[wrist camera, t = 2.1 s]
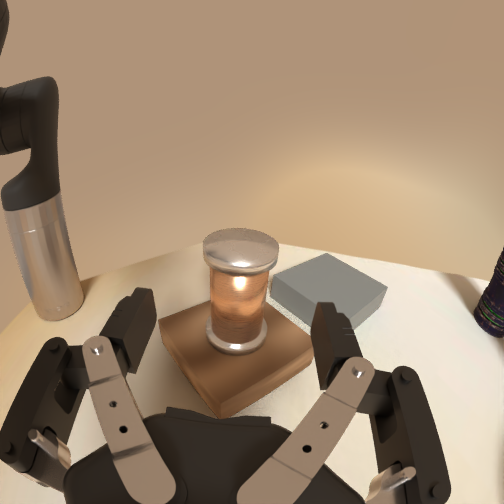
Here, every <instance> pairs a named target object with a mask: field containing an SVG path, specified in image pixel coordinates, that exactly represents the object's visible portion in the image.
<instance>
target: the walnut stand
mask: <svg viewBox="0 0 504 504" xmlns="http://www.w3.org/2000/svg"><path fill="white" fill-rule="evenodd" d="M210 315H211V300H210V301H207V302H204V303H202V304H199V305H197V306H194V307H191V308H189V309H186V310H183V311H181V312H178V313H175V314H173V315H170V316H167V317H165V318H162V319H159V320H158V322H159V327H160V332H161V337H162V341H163V344H164V345H165V347H166V348H167V350H168V351H169V353H170V354H171V356H172V357H173V359H174V360H175V362H176V363H177V365H178V366H179V368H180V369H181V370H182V372H183V373H184V375H185V376H186V377H187V379H188V380H189V381H190V383H191V384H192V386H193V387H194V388H195V390H196V391H197V392H198V393H199V395H200V396H201V397H202V399H203V400H204V401H205V402H206V404H207V405H208V406H209V408H210V409H211V410H212V411H213V412H214V414H215V415H216V416H217V417H218V419H226V418H229V417H231V416H232V415H234V414H236V413H237V412H239V411H241V410H243V409H244V408H246V407H248V406H249V405H251V404H252V403H254V402H256V401H257V400H259V399H260V398H262V397H264V396H265V395H267V394H268V393H270V392H271V391H273V390H274V389H276V388H277V387H279V386H280V385H282V384H283V383H285V382H286V381H288V380H289V379H291V378H292V377H294V376H295V375H296V374H298V373H299V372H301V371H302V370H303V369H305V368H306V367H307V366H309V365H310V364H311V362H312V359H313V357H314V352H313V346H312V341H311V336H310V335H308V334H307V333H306V332H304V331H303V330H302V329H301V328H299V327H298V326H297V325H295V324H294V323H293V322H291V321H290V320H289V319H288V318H286V317H285V316H284V315H282V314H281V313H280V312H279V311H277V310H276V309H275V308H274V307H272V306H271V305H270V304H268V303H267V302H266V301H265V308H264V315H263V318H264V319H265V321H266V324H267V334H266V340H265V342H264V344H263V346H262V347H261V348H260V349H259V350H257V351H256V352H254V353H252V354H249V355H244V356H230V355H226V354H223V353H221V352H219V351H217V350H215V349H214V348H213V347H212V346H211V345H210V344H209V342H208V340H207V338H206V321H207V319H208V317H209V316H210Z"/></svg>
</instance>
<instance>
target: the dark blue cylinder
mask: <svg viewBox="0 0 504 504" xmlns="http://www.w3.org/2000/svg"><path fill="white" fill-rule="evenodd" d="M474 317H475V320H476V322H477V323H478V324H479V326H480V327H481V328H482V329H483V330H484V331H485V332H487V333H488V334H490V335H492V336H494V337H498V338H501V337H504V248H503V251H502V253H501V255H500V257H499V259H498V261H497V265H496V266H495V269H494V274H493V277H492V279H491V281H490V283H489V285H488V287H486V289H485V290H484V292H483V294H482V296H481V298H480V300H479V303H478V305H477V307H476V308H475V310H474Z"/></svg>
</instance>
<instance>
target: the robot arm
mask: <svg viewBox="0 0 504 504" xmlns="http://www.w3.org/2000/svg"><path fill="white" fill-rule="evenodd" d="M8 25H9V10H8V6H7V2H6V0H0V55H1V51H2V48H3V45H4V42H5V38H6V35H7V31H8ZM58 109H59V94H58V87H57V84H56V81H55V80H54V79H53V78H52V77H41V78H37V79H33V80H30V81H26V82H23V83H19V84H16V85H13V86H10V87H7V88H2V87H0V155H5V154H10V153H14V152H18V151H21V150H25V149H28V148H31V157H30V161H29V163H28V164H27V166H26V167H25V168H24V169H23V170H22V171H21V172H20V173H19V174H18V175H17V176H16V177H14V178H13V179H11V180H10V181H9V182H7V183H6V184H5V185H4V187H3V188H2V190H1V199H2V205H3V209H4V214H5V219H6V223H7V227H8V231H9V235H10V239H11V242H12V246H13V249H14V253H15V256H16V259H17V262H18V265H19V268H20V271H21V274H22V277H23V279H24V282H25V285H26V288H27V290H28V293H29V295H30V298H31V300H32V303H33V305H34V307H35V310H36V312H37V314H38V315H39V317H41V318H42V319H45V320H49V321H56V320H60V319H64V318H66V317H68V316H70V315H72V314H73V313H74V312H76V311H77V310H78V309H79V308H80V306H81V305H82V303H83V300H84V294H83V290H82V287H81V284H80V280H79V277H78V273H77V269H76V265H75V262H74V258H73V253H72V249H71V246H70V241H69V236H68V231H67V226H66V221H65V215H64V210H63V204H62V197H61V191H60V183H59V169H58V151H57V129H58ZM156 318H157V314H156V308H155V302H154V297H153V291H152V289H147V288H139V287H137V288H136V289H135V290H134V292H133V294H132V295H131V297H130V296H126V297H125V298H123V299H122V300H121V301H120V302H119V303H118V304H117V306H116V308H115V310H114V311H113V312H112V314H111V316H110V317H109V319H108V321H107V322H106V324H105V326H104V327H103V329H102V331H101V332H100V334H99V336H94V337H91V338H89V339H88V340H87V341H86V342H85V343H84V344H83V345H79V346H68V344H67V342H66V341H65V340H64V339H63V338H61V337H54V338H51V339H49V340H48V341H47V342H46V343H45V344H44V345H43V347H42V349H41V350H40V352H39V354H38V355H37V357H36V359H35V361H34V362H33V364H32V366H31V368H30V370H29V371H28V373H27V375H26V377H25V379H24V381H23V383H22V385H21V387H20V389H19V391H18V393H17V395H16V397H15V399H14V401H13V403H12V405H11V407H10V410H9V412H8V414H7V416H6V419H5V421H4V423H3V426H2V428H1V431H0V459H1V460H2V461H3V462H5V463H6V464H8V465H9V466H10V467H12V468H13V469H14V470H15V471H17V472H18V473H20V474H22V475H23V476H25V477H26V478H28V479H30V480H32V481H34V482H36V483H38V484H40V485H42V486H44V487H51V488H53V489H55V490H58V491H60V492H62V493H64V497H65V500H66V504H445V503H446V502H447V500H448V499H449V497H450V494H451V484H450V479H449V475H448V470H447V466H446V462H445V458H444V454H443V450H442V446H441V442H440V439H439V435H438V432H437V429H436V425H435V422H434V419H433V416H432V413H431V410H430V407H429V404H428V401H427V398H426V395H425V392H424V389H423V387H422V384H421V381H420V379H419V376H418V374H417V373H416V372H415V371H414V370H413V369H412V368H410V367H407V366H399V367H397V368H395V369H394V370H393V372H392V373H390V372H385V371H380V370H376V369H374V367H373V365H372V363H371V362H370V361H368V360H367V359H365V358H363V356H362V353H361V350H360V347H359V344H358V342H357V339H356V336H355V335H354V334H355V333H354V331H353V329H352V325H351V323H350V320H349V319H348V318H347V316H346V315H345V314H344V313H337V310H336V307H335V304H334V303H333V302H318V303H317V305H316V309H315V313H314V317H313V320H312V324H311V331H310V334H311V341H312V346H313V352H314V357H315V362H316V368H317V373H318V379H319V384H320V390H326V392H323V394H322V395H321V396H320V397H319V399H318V400H317V402H316V403H315V404H314V406H313V407H312V408H311V410H310V411H309V412H308V414H307V415H306V416H305V417H304V419H303V420H302V421H301V422H300V424H299V425H298V426H297V427H296V429H295V430H294V431H293V432H291V431H289V430H287V429H286V428H283V427H281V426H279V425H276V424H272V423H271V417H262V416H240V417H233V418H226V419H214V418H211V417H208V416H205V415H203V414H200V413H197V412H194V411H191V410H184V409H178V408H172V407H167V409H166V413H161V414H156V415H152V416H149V417H146V418H143V416H142V414H141V412H140V410H139V408H138V406H137V403H136V401H135V399H134V397H133V395H132V392H131V390H130V388H129V385H128V383H127V381H126V378H125V377H126V375H127V373H128V372H129V373H133V374H136V371H137V369H138V366H139V364H140V361H141V358H142V356H143V353H144V351H145V348H146V346H147V344H148V341H149V339H150V336H151V334H152V331H153V329H154V327H155V324H156ZM58 382H59V383H58ZM86 389H89V391H90V394H91V397H92V401H93V404H94V407H95V410H96V413H97V416H98V419H99V422H100V425H101V428H102V430H103V433H104V436H105V438H106V441H107V444H105V445H103V446H102V447H100V448H99V449H97V450H96V451H94V452H92V453H91V454H89V455H88V456H86V457H84V458H83V459H81V460H79V461H78V462H76V463H74V464H73V465H72V466H71V454H70V450H69V448H68V447H67V442H68V439H69V436H70V433H71V430H72V427H73V424H74V421H75V418H76V415H77V412H78V410H79V407H80V404H81V402H82V399H83V396H84V394H85V391H86ZM356 412H359V413H365V414H369V418H370V423H371V429H372V434H373V440H374V446H375V452H376V459H377V466H378V473H379V474H378V475H377V476H375V477H374V478H373V479H372V481H371V483H370V486H369V494H368V496H367V498H366V499H365V500H364V499H363V498H362V497H361V496H360V495H359V494H358V493H357V492H356V491H355V490H354V489H352V488H351V487H350V486H349V485H348V484H347V483H346V482H344V481H343V480H342V479H341V478H340V477H339V476H338V475H337V474H335V473H334V472H333V471H332V470H331V469H330V468H329V467H328V466H327V465H326V464H325V463H324V462H325V461H326V459H327V458H328V456H329V455H330V453H331V452H332V450H333V449H334V447H335V446H336V444H337V443H338V441H339V440H340V438H341V436H342V435H343V433H344V432H345V430H346V428H347V427H348V425H349V423H350V422H351V420H352V418H353V416H354V415H355V413H356Z"/></svg>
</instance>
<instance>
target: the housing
mask: <svg viewBox="0 0 504 504" xmlns="http://www.w3.org/2000/svg"><path fill="white" fill-rule="evenodd" d="M278 252H279V245H278V243H277V242H276V240H275V239H274V238H272V237H271V236H269V235H267V234H265V233H262V232H260V231H256V230H251V229H243V228H231V229H223V230H219V231H216V232H213V233H212V234H210V235H208V236H207V237H206V238H205V239H204V241H203V258H204V261H205V262H206V264H207V265H208V266H210V298H211V315H210V316H209V317H208V319H207V321H206V338H207V340H208V342H209V344H210V345H211V346H212V347H213V348H214V349H215V350H217V351H219V352H221V353H223V354H226V355H230V356H244V355H249V354H252V353H254V352H256V351H257V350H259V349H260V348H261V347H262V346H263V344H264V342H265V340H266V334H267V324H266V321H265V319H264V318H263V315H264V308H265V300H266V292H267V285H268V277H269V270H271V269H272V268H273V267H274V266H275V265H276V263H277V259H278Z"/></svg>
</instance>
